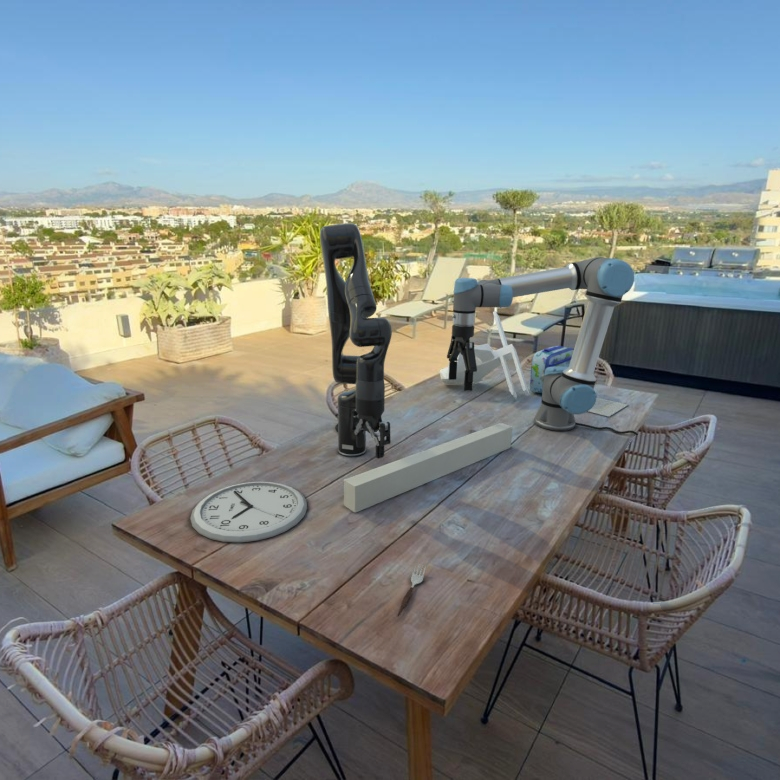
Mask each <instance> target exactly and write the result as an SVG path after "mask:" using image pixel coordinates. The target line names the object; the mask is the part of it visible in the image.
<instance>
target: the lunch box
mask: <svg viewBox="0 0 780 780" xmlns="http://www.w3.org/2000/svg"><path fill="white" fill-rule="evenodd" d="M573 351H574V348H573V347H567V346H561V345H553V346H549V347H547V348H543V349H541V350H538V351H537V352H535V353H534V355H533V357H532V359H531V366H530V379H529V391H531V392H532V393H537V394H542V391H543V381H544V374H545V369H546V368H548V367H569V365H570V361H571V358H572V355H573Z"/></svg>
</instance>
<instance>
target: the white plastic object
mask: <svg viewBox="0 0 780 780" xmlns="http://www.w3.org/2000/svg"><path fill="white" fill-rule="evenodd" d="M492 315H493V319H494V321H495V324H496V325H495V326H496V328H497V332H498V335H499V338H500V342H501V345H502V347H500V348H498V349H496V350H495V349H493V348H492V347H491V346H490V344H489V343H488V342H487V343H483V344H479V345H474V351H475V359H476V366H477V372H473V384H477V383H480V382H482V381H484V378H485V377H486V376H487V375H489V374H490V373H492V372H494V371H495V370H496V369H497V368H499V367H500V366H502V370H503V373H504V376H505V380H506V383H507V386H508V390H509V393H510V394H511V395H512V397H513V398H514V399H515V400H517V392H516V391H517V390H516V388H515V385H514V381H513V378H512V375H511V371H510V369H509V365H508V361H510V360H513V363H514V366H515V369H516V372H517V376H518V380H519V382H520V385H521V389H522V391H523V393H524V395H525V396H526V397H528V396H531V395H530V389H529V388H528V387H529V386H528V384H527V381H526V378H525V375H524V371H523V369H522V368H523V367H522V366H521V362H520V359H519V355H518V352H517V349H516V347H515V346H514V345H513V343H511V344H508V341H507V337H506V334H505V331H504V328H503V325H502V321H501V318H500V315H499V314H498V312H497V311H496V310H495V311H492ZM457 360H458V361H455V362H457V375H456V379H454V380H449V365H448V366H446V367H444V368H442V369H440V370H439V371H438V372H439V376H440V381H442V383H443V384H444V385H445V386H449V385H458V384H464V381H465V370H466V367H465V363H464V359H463V355H461V353H460V354H459V356H458V358H457ZM449 362H450V361H449V360H448V363H449Z"/></svg>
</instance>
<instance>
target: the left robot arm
mask: <svg viewBox="0 0 780 780" xmlns="http://www.w3.org/2000/svg"><path fill="white" fill-rule="evenodd" d="M319 243H320V250H321V255H322V256H321V257H322V262H323V270H324V276H325V284H326V286H325V287H326V299H327V301H326V302H327V313H328V315H327V316H328V321H329V323H328V324H329V330H330V340H331V367H332V377H333V381H334V382H335V383H336V384H342V385H345V384H346V385H355V386H354V387H352V388H350V389H349V390H346V391H343V392H341V393H340V394H338V396H337V413H335V415H334V416H335V417H337V423H336V425H335V427H334V428H335V430H336V432H337V443H338V444H337V446H338V447H337V451H338V454H339V455H341V456H343V457H350V458H353V457H354V458H355V457H360V456H362V455H365V454H366V452H367V448H366V446H367V443H366V442H367V441H366V440H367V433H369V434H370V437H371V438H372V439H373V441H374V443H375V458H376V459H382V458H384V456H385V446H387V445H391V422H390V421H383V419H382V415H383V414H384V412H385V401H386V399H385V398H386V396H385V394H386V392H385V391H386V387H385V361H386V358H387V354H388V349H389V346H390V343H391V340H392V335H393V330H392V324H391V323H390V321H389V320H388V319H387V318H385V317H372V316H373V315H375V314H376V312H377V307H378V306H377V302H376V300H375V296H374V292H373V290H372V287H371V284H370V283H371V282H370V279H369V274H368V268H367V261H366V255H365V250H364V243H363V240H362V234H361V231H360V229H359V227H358V226H357V224H355V223H350V222H349V223H348V222H347V223H340V224H332V225H331V224H330V225H325V226H322V227H321V229H320V232H319ZM351 258H353V262H352V266H351V269H350V271H349V273H348V275H347V277H346V280H345V279H344V278H343V277H342V275H341V274H340V272H339V270H338V269H337V266H336V261H337V260H343V259H351ZM349 339H350V342H351V343H352V344H353V345H354V346H356V347H357V348H366V347H373V348H372V350H371V351H370V352H367V353H365V354H361V355H350V354H349V355H348V354H347V355H346V354H344V348H345V346H346V345H347V342H348V341H349Z"/></svg>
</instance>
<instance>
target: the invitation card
mask: <svg viewBox="0 0 780 780" xmlns="http://www.w3.org/2000/svg"><path fill="white" fill-rule="evenodd" d="M628 406H629V404H627V403H623V402H618V401H614V400H609V399H605V398H601V397H597V396H596V402H595V404H594V406H593V407H592V408H591V409H590V410H589V411H587V413H593V414H596V415H600V416H604V417H608V418H609V417H611V416H613V415H614V414H616V413H617V412H619V411H621V410H623V409H624V408H626V407H628Z"/></svg>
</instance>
